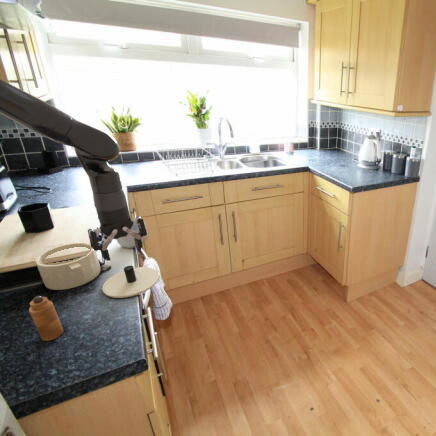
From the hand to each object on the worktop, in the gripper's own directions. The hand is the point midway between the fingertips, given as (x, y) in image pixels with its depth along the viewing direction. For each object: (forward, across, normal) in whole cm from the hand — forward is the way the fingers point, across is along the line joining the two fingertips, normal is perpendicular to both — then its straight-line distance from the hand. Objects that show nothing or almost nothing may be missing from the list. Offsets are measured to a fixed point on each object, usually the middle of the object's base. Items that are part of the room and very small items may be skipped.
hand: (124, 254), depth 97 cm
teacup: (+11, +11, +28) cm, 32 cm away
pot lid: (+10, 0, 0) cm, 10 cm away
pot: (+11, -11, +18) cm, 23 cm away
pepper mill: (+11, -22, -8) cm, 26 cm away
